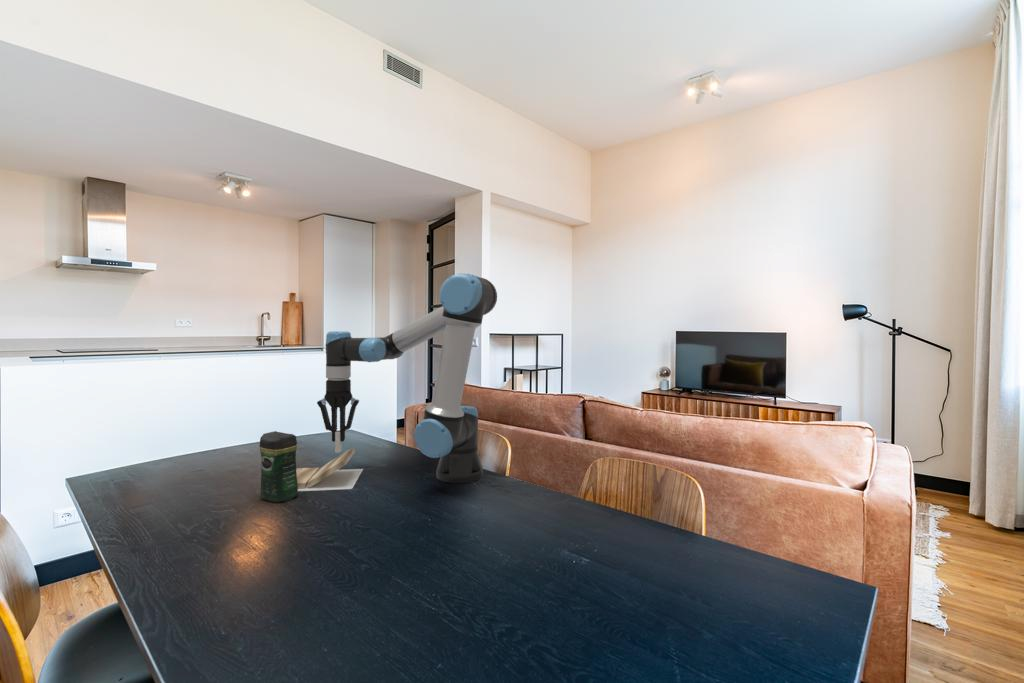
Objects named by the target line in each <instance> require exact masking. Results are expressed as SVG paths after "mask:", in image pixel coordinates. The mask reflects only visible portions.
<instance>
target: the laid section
mask: <svg viewBox="0 0 1024 683" xmlns="http://www.w3.org/2000/svg"><path fill="white" fill-rule="evenodd" d="M319 469H320V467H298V468H297V467H296V472H297V484H298V489H305V488H306V487H307V486H308V484H307V482H308V481H309V480H310V479H311V478H312V477H313V476H314V474H315V473H316V472H317V471H318V470H319Z"/></svg>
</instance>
